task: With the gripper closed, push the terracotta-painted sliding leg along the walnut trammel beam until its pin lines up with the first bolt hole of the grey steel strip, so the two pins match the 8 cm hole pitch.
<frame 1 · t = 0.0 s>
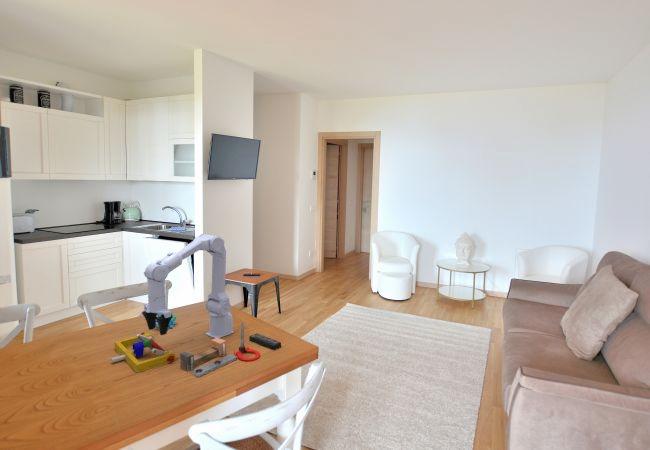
hand: (157, 331, 147), 10 cm above the table, tool pointing down, fingers open, 7 cm apart
tow hook: (248, 356, 152), on the table
multiport hub: (264, 345, 163), on the table
steel strip: (215, 366, 143), on the table
sliding leg: (219, 347, 152), point 3 cm above the table, slide at 0.0 cm
trammel beam: (203, 360, 147), on the table
gear: (165, 327, 177), on the table
yellow frame mechanism: (137, 356, 150), on the table
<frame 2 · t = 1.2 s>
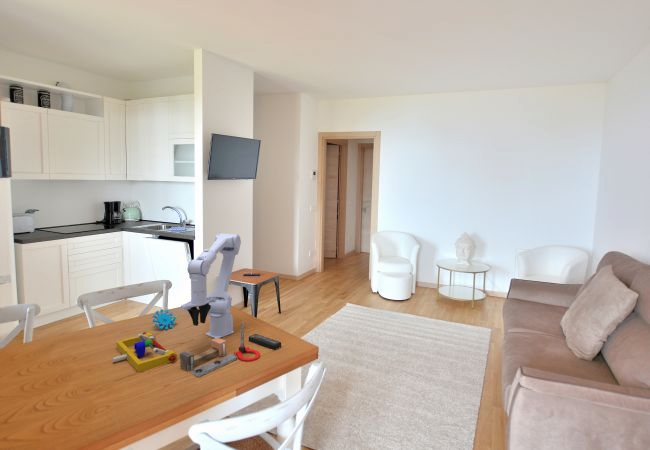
hand: (199, 324, 155), 10 cm above the table, tool pointing down, fingers open, 3 cm apart
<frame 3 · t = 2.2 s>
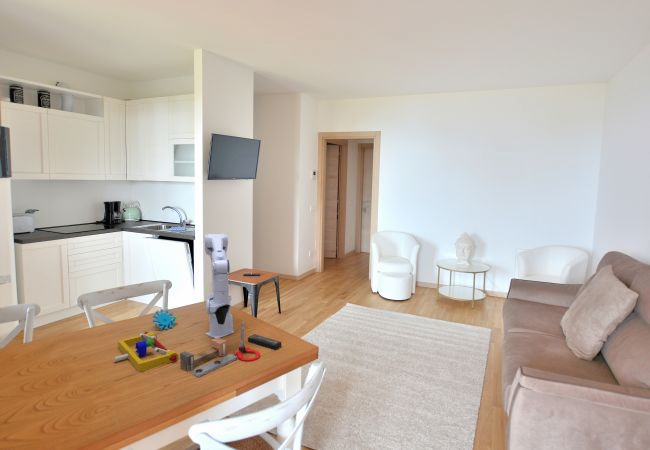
hand: (221, 323, 155), 10 cm above the table, tool pointing down, fingers closed
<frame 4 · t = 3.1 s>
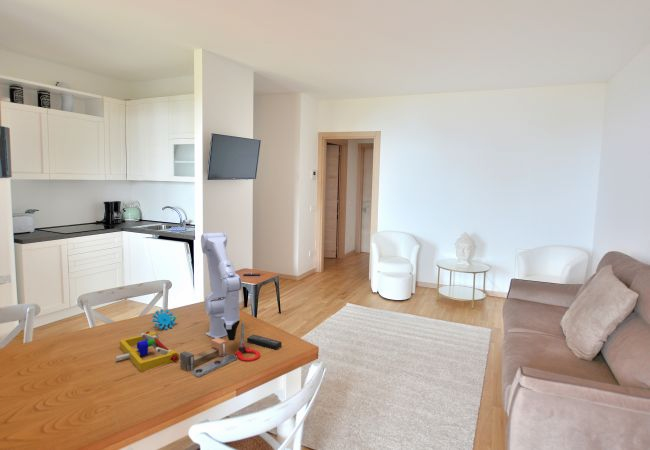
hand: (231, 339, 157), 4 cm above the table, tool pointing down, fingers closed
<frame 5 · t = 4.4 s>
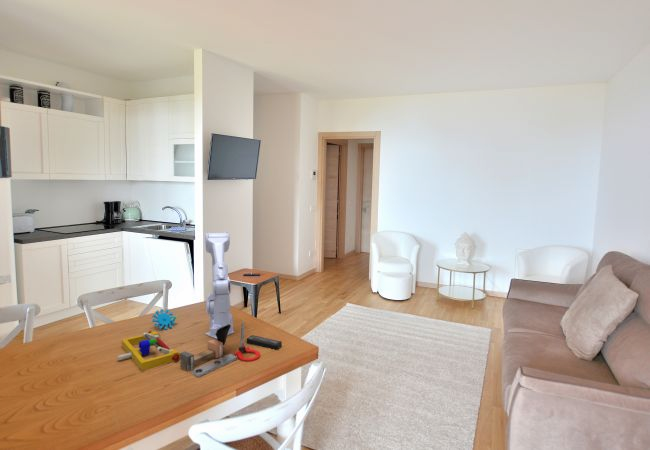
hand: (221, 344, 153), 3 cm above the table, tool pointing down, fingers closed
sliding leg: (215, 348, 151), point 3 cm above the table, slide at 1.7 cm, touching gripper
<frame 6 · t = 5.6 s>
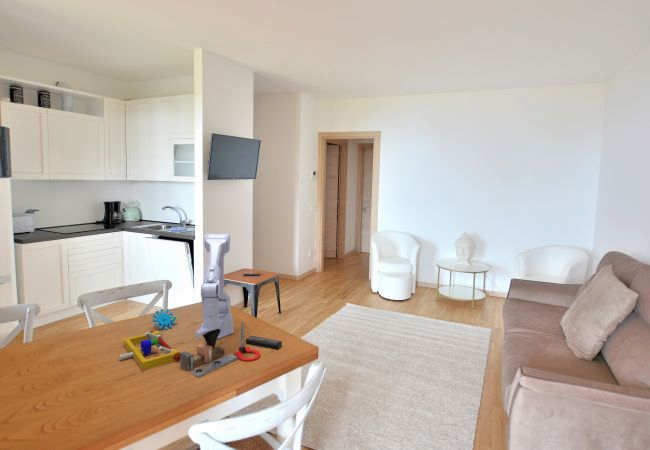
hand: (211, 348, 149), 3 cm above the table, tool pointing down, fingers closed
sliding leg: (205, 353, 147), point 3 cm above the table, slide at 6.5 cm, touching gripper
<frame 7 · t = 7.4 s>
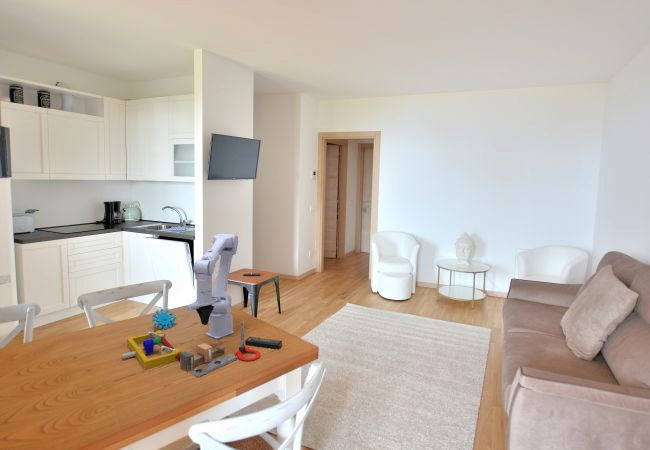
hand: (204, 324, 155), 10 cm above the table, tool pointing down, fingers closed
sliding leg: (205, 353, 147), point 3 cm above the table, slide at 6.5 cm
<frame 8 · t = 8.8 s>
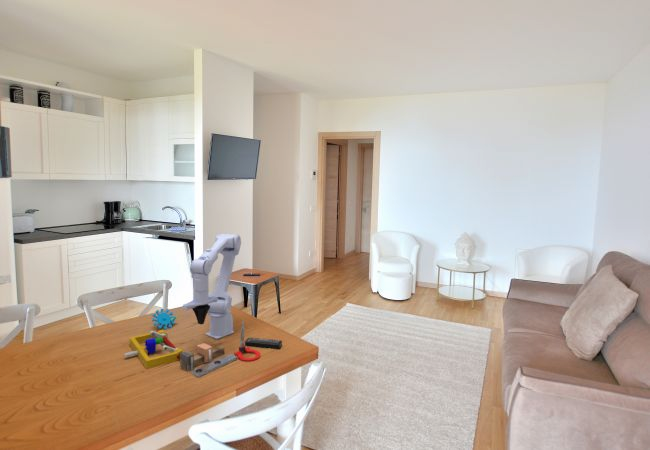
hand: (200, 323, 155), 10 cm above the table, tool pointing down, fingers closed
at the end: sliding leg slide at 6.5 cm; the gripper is holding nothing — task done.
